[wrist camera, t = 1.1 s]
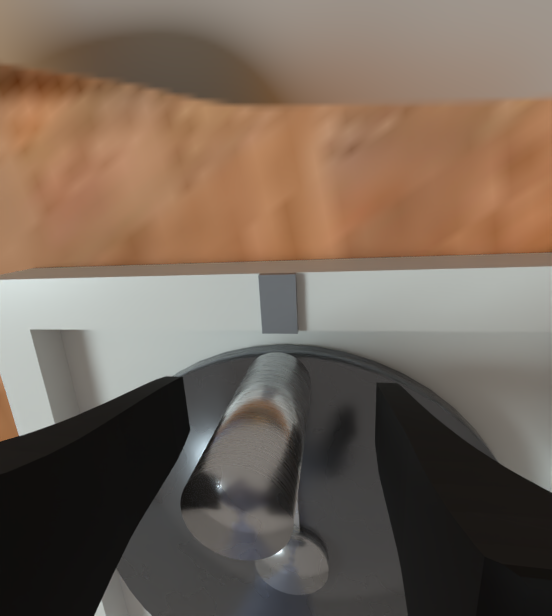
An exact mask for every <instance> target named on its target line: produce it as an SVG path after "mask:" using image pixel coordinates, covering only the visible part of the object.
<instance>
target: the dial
mask: <svg viewBox="0 0 552 616" xmlns="http://www.w3.org/2000/svg"><path fill="white" fill-rule="evenodd" d="M173 376H174V377H183V381H184V389H185V396H186V403H187V410H188V417H189V424H190V433H189V435H188V438H187V440H186V443H185V445H184V447H183V449H182V452H181V454H180V456H179V458H178V460H177V462H176V463H175V465H174V467H173V468H172V470H171V472H170V473H169V475H168V477H167V478H166V480H165V482H164V483H163V485H162V487H161V488H160V490H159V491H158V493H157V495H156V496H155V498H154V500H153V501H152V503H151V504H150V506H149V508H148V509H147V511H146V513H145V514H144V516H143V518H142V519H141V521H140V522H139V524H138V526H137V528H136V530H135V531H134V533H133V535H132V537H131V539H130V541H129V543H128V545H127V547H126V549H125V551H124V553H123V555H122V557H121V559H120V561H119V563H118V565H117V567H116V568H117V570H118V572H119V574H120V576H121V577H122V579H123V580H124V582H125V583H126V585H127V587H128V588H129V590H130V591H131V592H132V594H133V595H134V596H135V597H136V599H137V600H138V601H139V602H140V603H141V605H142V606H143V607H144V608H145V609H146V610H147V611H148V612H149V613H150V614H151V615H152V616H408V612H407V606H406V599H405V592H404V585H403V579H402V572H401V567H400V562H399V557H398V552H397V547H396V543H395V539H394V535H393V531H392V527H391V523H390V518H389V514H388V510H387V506H386V502H385V498H384V494H383V489H382V485H381V481H380V477H379V472H378V464H377V456H376V447H375V417H376V383H398V384H399V385H401V386H402V387H403V388H404V389H405V390H406V391H407V392H408V393H409V394H410V395H411V396H412V397H413V398H414V399H415V400H417V401H418V402H419V403H420V404H421V405H422V406H423V407H424V408H425V409H426V410H428V411H429V412H430V413H431V414H432V415H433V416H435V417H436V418H437V419H438V420H439V421H441V422H442V423H443V424H444V425H445V426H447V427H448V428H449V429H451V430H452V431H453V432H454V433H456V434H457V435H458V436H460V437H461V438H462V439H464V440H465V441H466V442H468V443H469V444H471V445H472V446H474V447H475V448H476V449H478V450H480V451H481V452H483V453H484V454H486V455H487V456H489V457H490V458H492V459H493V460H495V461H497V459H496V457H495V456H494V454H493V453H492V451H491V450H490V449H489V447H488V446H487V444H486V443H485V442H484V440H483V439H482V438H481V436H480V435H479V434H478V432H477V431H476V429H475V428H474V427H473V426H472V425H471V424H470V423H469V422H468V421H467V420H466V419H465V418H464V417H463V416H462V415H461V414H460V413H459V412H458V411H457V410H456V409H455V408H454V407H452V406H451V405H450V404H449V403H447V402H446V401H445V400H443V399H442V398H441V397H440V396H438V395H437V394H436V393H434V392H433V391H432V390H431V389H429V388H427V387H426V386H424V385H422V384H420V383H419V382H417V381H415V380H414V379H412V378H410V377H409V376H407V375H405V374H403V373H401V372H399V371H397V370H394V369H392V368H390V367H387V366H385V365H383V364H381V363H378V362H376V361H374V360H370V359H367V358H364V357H360V356H357V355H353V354H350V353H347V352H343V351H338V350H332V349H326V348H320V347H315V346H301V345H268V346H255V347H248V348H243V349H238V350H233V351H228V352H224V353H221V354H218V355H215V356H212V357H210V358H207V359H204V360H201V361H199V362H197V363H195V364H193V365H191V366H189V367H187V368H185V369H183V370H181V371H179V372H178V373H176V374H175V375H173ZM497 462H498V461H497ZM498 463H499V462H498Z"/></svg>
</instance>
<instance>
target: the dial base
mask: <svg viewBox="0 0 552 616" xmlns="http://www.w3.org/2000/svg"><path fill="white" fill-rule="evenodd" d="M268 345H301V346H315V347H320V348H326V349H332V350H338V351H343V352H347V353H350V354H353V355H357V356H360V357H364V358H367V359H370V360H374V361H376V362H378V363H381V364H383V365H385V366H387V367H390V368H392V369H394V370H397V371H399V372H401V373H403V374H405V375H407V376H409V377H410V378H412V379H414V380H415V381H417V382H419V383H420V384H422V385H424V386H426V387H427V388H429V389H431V390H432V391H433V392H434V393H436V394H437V395H438V396H440V397H441V398H442V399H443V400H445V401H446V402H447V403H449V404H450V405H451V406H452V407H454V408H455V409H456V410H457V411H458V412H459V413H460V414H461V415H462V416H463V417H464V418H465V419H466V420H467V421H468V422H469V423H470V424H471V425H472V426H473V427H474V428H475V429H476V431H477V432H478V434H479V435H480V436H481V438H482V439H483V440H484V442H485V443H486V444H487V446H488V447H489V449H490V450H491V451H492V453H493V454H494V456H495V457H496V459H497V461H498V462H499V463H500V464H501V465H503V466H505V467H506V468H508V469H510V470H511V471H513V472H515V473H517V474H518V475H520V476H522V477H524V478H526V479H528V480H529V481H531V482H533V483H535V484H537V485H539V486H540V487H542V488H544V489H546V490H548V491H550V492H552V252H549V253H516V254H483V255H450V256H418V257H385V258H352V259H319V260H287V261H254V262H221V263H188V264H156V265H123V266H90V267H57V268H31V269H27V270H22V271H17V272H12V273H7V274H2V275H0V374H1V377H2V381H3V384H4V387H5V391H6V394H7V397H8V401H9V404H10V407H11V410H12V414H13V417H14V420H15V424H16V427H17V430H18V434H19V436H21V435H25V434H28V433H31V432H34V431H37V430H39V429H42V428H45V427H48V426H51V425H53V424H56V423H59V422H61V421H64V420H67V419H69V418H71V417H74V416H76V415H79V414H81V413H83V412H85V411H88V410H90V409H92V408H95V407H97V406H99V405H101V404H104V403H106V402H108V401H110V400H113V399H115V398H117V397H119V396H121V395H123V394H125V393H127V392H129V391H132V390H134V389H136V388H138V387H140V386H142V385H145V384H147V383H149V382H151V381H154V380H156V379H159V378H162V377H165V376H173V375H175V374H176V373H178V372H179V371H181V370H183V369H185V368H187V367H189V366H191V365H193V364H195V363H197V362H199V361H201V360H204V359H207V358H210V357H212V356H215V355H218V354H221V353H224V352H228V351H233V350H238V349H243V348H248V347H255V346H268ZM94 616H152V615H151V614H150V613H149V612H148V611H147V610H146V609H145V608H144V607H143V606H142V605H141V603H140V602H139V601H138V600H137V599H136V597H135V596H134V595H133V594H132V592H131V591H130V590H129V588H128V587H127V585H126V583H125V582H124V580H123V579H122V577H121V576H120V574H119V572H118V570H117V568H116V569H115V571H114V573H113V576H112V578H111V580H110V582H109V584H108V587H107V589H106V591H105V593H104V595H103V597H102V600H101V602H100V604H99V606H98V608H97V611H96V613H95V615H94Z"/></svg>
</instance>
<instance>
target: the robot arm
mask: <svg viewBox="0 0 552 616" xmlns="http://www.w3.org/2000/svg"><path fill="white" fill-rule="evenodd" d="M189 433H190V424H189V417H188V410H187V403H186V396H185V389H184V381H183V377H174V376H165V377H162V378H159V379H156V380H154V381H151V382H149V383H147V384H145V385H142V386H140V387H138V388H136V389H134V390H132V391H129V392H127V393H125V394H123V395H121V396H119V397H117V398H115V399H113V400H110V401H108V402H106V403H104V404H101V405H99V406H97V407H95V408H92V409H90V410H88V411H85V412H83V413H81V414H79V415H76V416H74V417H71V418H69V419H67V420H64V421H61V422H59V423H56V424H53V425H51V426H48V427H45V428H42V429H39V430H37V431H34V432H31V433H28V434H25V435H21V436H18V437H15V438H11V439H8V440H4V441H1V442H0V616H94V615H95V613H96V611H97V608H98V606H99V604H100V602H101V600H102V597H103V595H104V593H105V591H106V589H107V587H108V584H109V582H110V580H111V578H112V576H113V573H114V571H115V569H116V567H117V565H118V563H119V561H120V559H121V557H122V555H123V553H124V551H125V549H126V547H127V545H128V543H129V541H130V539H131V537H132V535H133V533H134V531H135V530H136V528H137V526H138V524H139V522H140V521H141V519H142V518H143V516H144V514H145V513H146V511H147V509H148V508H149V506H150V504H151V503H152V501H153V500H154V498H155V496H156V495H157V493H158V491H159V490H160V488H161V487H162V485H163V483H164V482H165V480H166V478H167V477H168V475H169V473H170V472H171V470H172V468H173V467H174V465H175V463H176V462H177V460H178V458H179V456H180V454H181V452H182V449H183V447H184V445H185V443H186V440H187V438H188V435H189ZM375 447H376V456H377V464H378V472H379V477H380V481H381V485H382V489H383V494H384V498H385V502H386V506H387V510H388V514H389V518H390V523H391V527H392V531H393V535H394V539H395V543H396V547H397V552H398V557H399V562H400V567H401V572H402V579H403V585H404V592H405V599H406V606H407V612H408V616H552V492H550V491H548V490H546V489H544V488H542V487H540V486H539V485H537V484H535V483H533V482H531V481H529V480H528V479H526V478H524V477H522V476H520V475H518V474H517V473H515V472H513V471H511V470H510V469H508V468H506V467H505V466H503V465H501V464H500V463H498V462H497V461H495V460H493V459H492V458H490V457H489V456H487V455H486V454H484V453H483V452H481V451H480V450H478V449H476V448H475V447H474V446H472V445H471V444H469V443H468V442H466V441H465V440H464V439H462V438H461V437H460V436H458V435H457V434H456V433H454V432H453V431H452V430H451V429H449V428H448V427H447V426H445V425H444V424H443V423H442V422H441V421H439V420H438V419H437V418H436V417H435V416H433V415H432V414H431V413H430V412H429V411H428V410H426V409H425V408H424V407H423V406H422V405H421V404H420V403H419V402H418V401H417V400H415V399H414V398H413V397H412V396H411V395H410V394H409V393H408V392H407V391H406V390H405V389H404V388H403V387H402V386H401V385H399V384H398V383H376V417H375Z"/></svg>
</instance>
